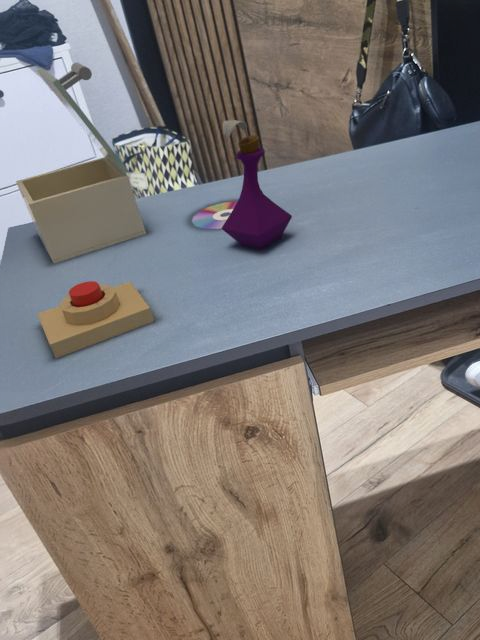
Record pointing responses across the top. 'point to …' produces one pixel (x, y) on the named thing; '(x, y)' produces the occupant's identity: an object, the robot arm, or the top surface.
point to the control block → (94, 319)
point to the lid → (75, 111)
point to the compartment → (82, 208)
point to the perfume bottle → (253, 199)
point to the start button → (86, 294)
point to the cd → (213, 216)
